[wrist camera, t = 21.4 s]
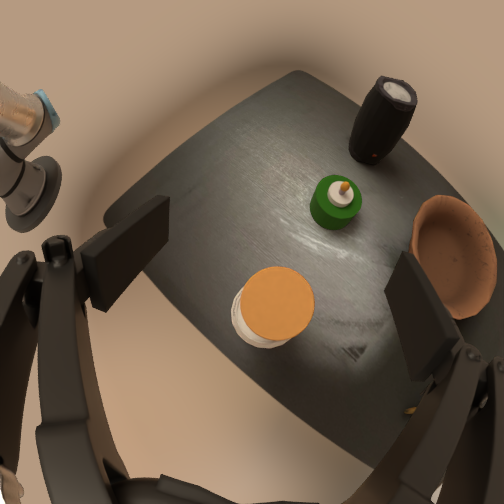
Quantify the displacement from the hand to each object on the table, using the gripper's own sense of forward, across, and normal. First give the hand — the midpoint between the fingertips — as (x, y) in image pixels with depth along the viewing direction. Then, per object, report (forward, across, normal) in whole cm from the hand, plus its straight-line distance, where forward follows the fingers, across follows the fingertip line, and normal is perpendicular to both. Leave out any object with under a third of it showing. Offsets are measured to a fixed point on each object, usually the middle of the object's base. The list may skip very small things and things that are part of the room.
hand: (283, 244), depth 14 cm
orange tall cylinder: (+10, +1, -14) cm, 17 cm away
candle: (+36, +9, -9) cm, 38 cm away
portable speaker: (+47, +15, +2) cm, 50 cm away
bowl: (+31, +31, -14) cm, 46 cm away
